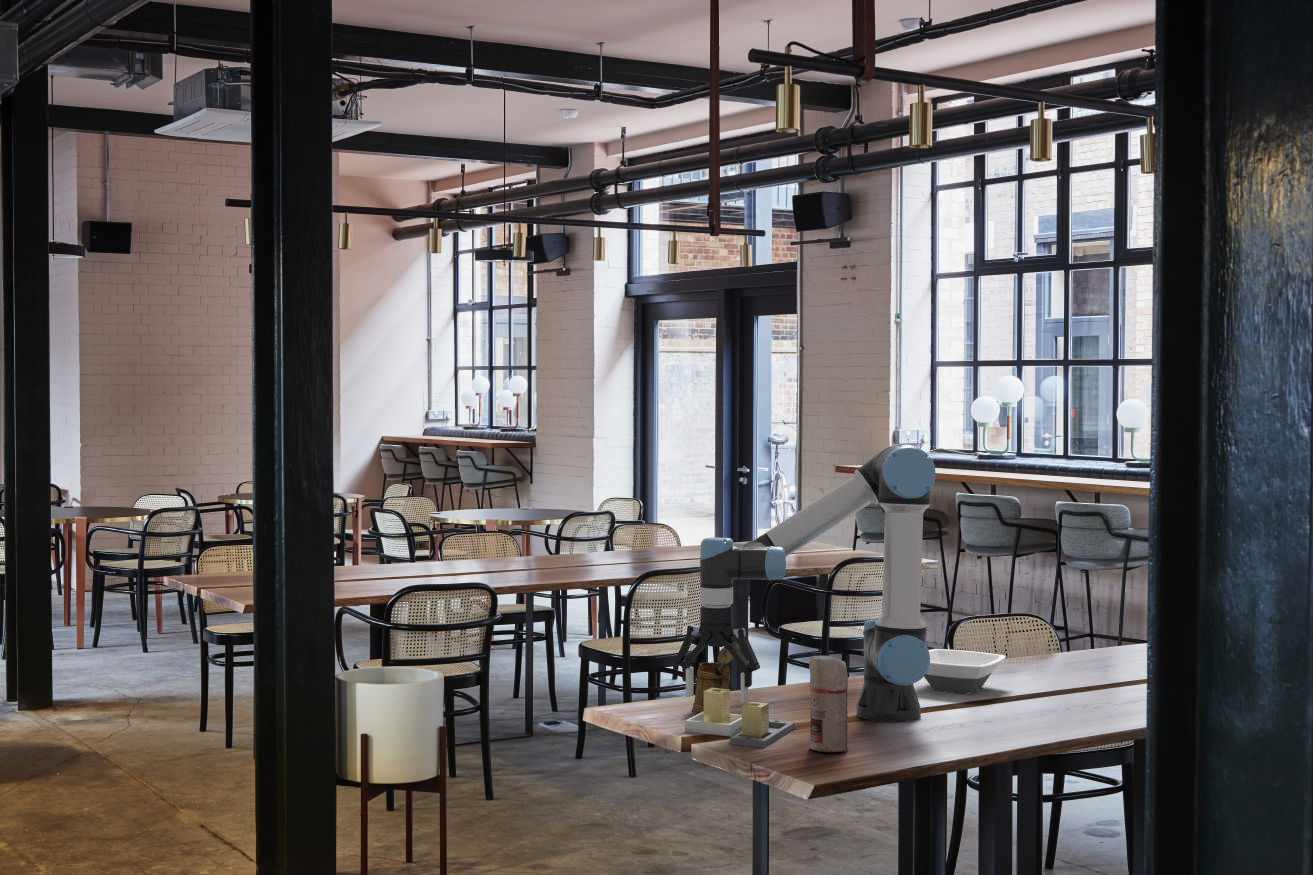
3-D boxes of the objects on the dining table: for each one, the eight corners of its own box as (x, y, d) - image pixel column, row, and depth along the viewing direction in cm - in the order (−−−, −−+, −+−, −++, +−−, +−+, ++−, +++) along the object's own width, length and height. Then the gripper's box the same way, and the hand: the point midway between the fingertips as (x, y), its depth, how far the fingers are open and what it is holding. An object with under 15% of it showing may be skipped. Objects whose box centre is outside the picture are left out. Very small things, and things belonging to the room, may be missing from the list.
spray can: (805, 745, 276) (805, 652, 276) (842, 744, 276) (842, 652, 276) (813, 754, 267) (813, 659, 267) (852, 754, 268) (852, 658, 268)
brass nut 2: (768, 739, 281) (768, 702, 281) (761, 744, 277) (761, 706, 277) (749, 737, 283) (749, 701, 283) (741, 742, 279) (741, 705, 279)
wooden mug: (719, 718, 302) (719, 642, 302) (685, 709, 313) (685, 635, 313) (748, 714, 307) (748, 639, 307) (713, 704, 318) (713, 632, 318)
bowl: (1011, 686, 342) (1011, 654, 342) (984, 701, 322) (984, 667, 322) (932, 677, 353) (932, 647, 353) (901, 691, 334) (901, 659, 334)
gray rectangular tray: (794, 728, 292) (794, 721, 292) (764, 747, 274) (764, 740, 274) (761, 724, 295) (761, 718, 295) (729, 743, 277) (729, 736, 277)
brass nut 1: (730, 724, 292) (729, 688, 292) (722, 728, 288) (722, 692, 288) (711, 722, 294) (711, 687, 294) (703, 726, 290) (703, 690, 290)
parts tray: (747, 726, 294) (747, 715, 294) (730, 736, 284) (730, 724, 284) (704, 721, 299) (703, 710, 299) (685, 731, 289) (685, 720, 289)
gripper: (773, 606, 290) (773, 700, 290) (673, 600, 300) (673, 690, 300) (762, 610, 283) (762, 706, 283) (660, 604, 293) (660, 696, 293)
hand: (716, 698), depth 291 cm, fingers open, 13 cm apart
